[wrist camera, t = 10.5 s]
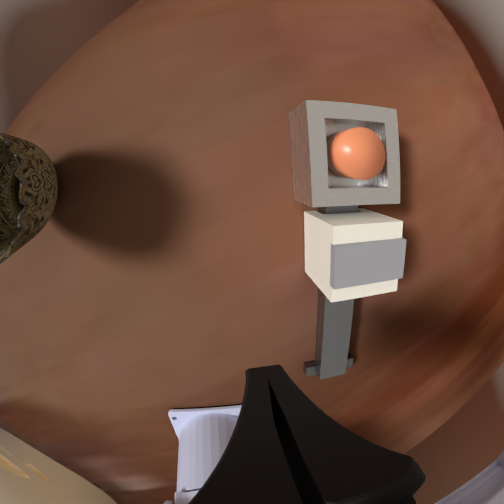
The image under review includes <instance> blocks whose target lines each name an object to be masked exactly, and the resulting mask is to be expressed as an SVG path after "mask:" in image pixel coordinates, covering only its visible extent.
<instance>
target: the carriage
mask: <svg viewBox="0 0 504 504" xmlns="http://www.w3.org/2000/svg"><path fill="white" fill-rule="evenodd" d="M402 230H403V221H401V220H398V219H395V218H392V217H389V216H386V215H383V214H380V213H377V212H374V211H370V210H367V209H364V208H358V212H351V213H335V214H321V213H319V212H317V211H304V233H305V272H306V273H307V274H308V276H309V277H310V278H311V279H312V280H313V282H314V283H315V284H316V285H317V286H318V288H319V289H320V290H321V291H322V292H323V293H324V295H325V296H326V297H327V298H328V299H329V301H330V302H331V303H332V302H338V301H344V300H350V299H355V298H361V297H367V296H372V295H377V294H382V293H388V292H393V291H397V284H398V279H400V278H403V271H404V262H405V251H406V239H404V238H402Z"/></svg>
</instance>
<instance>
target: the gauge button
mask: <svg viewBox="0 0 504 504" xmlns="http://www.w3.org/2000/svg"><path fill="white" fill-rule="evenodd" d="M326 145H327V162H328V166H329V168H330V169H331V170H332V171H333V172H334V173H335V174H336V175H338V176H340V177H343V178H351V179H360V180H368V179H372V178H374V177H376V176H377V175H378V174H379V173H380V172H381V170H382V168H383V166H384V163H385V149H384V145H383V143H382V141H381V139H380V138H379V136H378V135H377V134H376V133H375V132H373V131H372V130H370V129H368V128H364V127H357V128H352V129H348V130H344V131H340V132H337V133H335V134H334V135H332V136H331V137H330V138H329V140H328V141H327V144H326Z"/></svg>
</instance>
